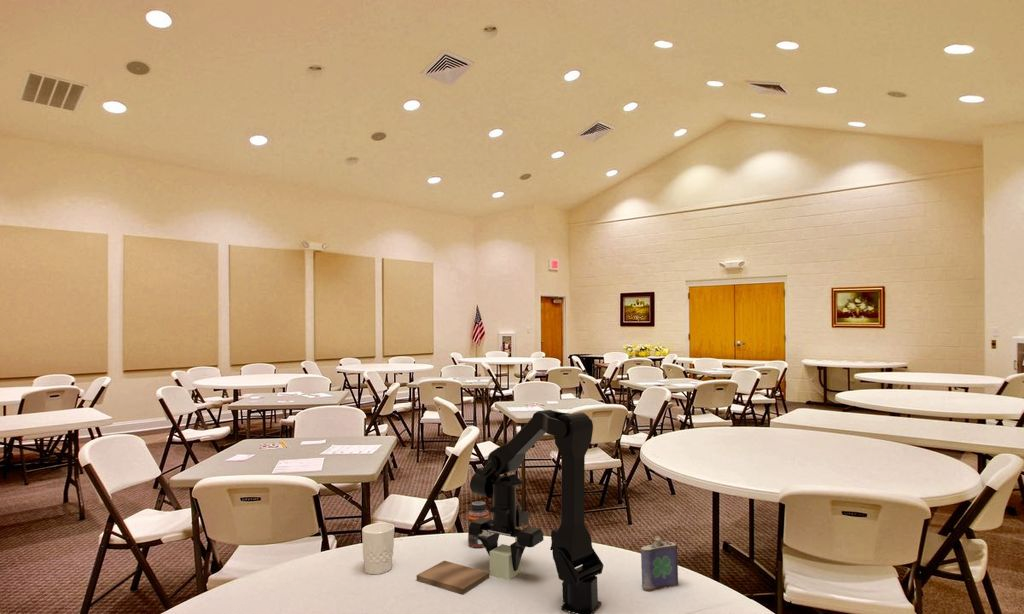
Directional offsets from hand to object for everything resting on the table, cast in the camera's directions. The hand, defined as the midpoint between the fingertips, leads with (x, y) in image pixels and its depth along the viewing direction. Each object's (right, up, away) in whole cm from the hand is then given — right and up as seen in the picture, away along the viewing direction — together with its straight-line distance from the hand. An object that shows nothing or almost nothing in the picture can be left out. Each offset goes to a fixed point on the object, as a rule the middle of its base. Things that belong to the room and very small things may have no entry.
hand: (505, 568), depth 125 cm
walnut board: (-12, -1, -3) cm, 13 cm away
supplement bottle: (-8, -3, +19) cm, 21 cm away
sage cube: (0, -1, 0) cm, 1 cm away
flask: (+35, 0, -9) cm, 36 cm away
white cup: (-32, -2, +4) cm, 32 cm away
